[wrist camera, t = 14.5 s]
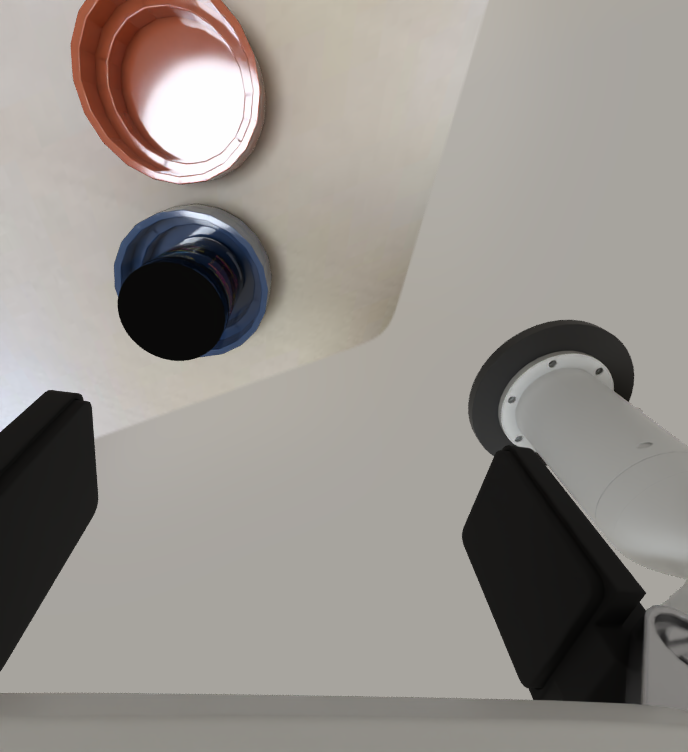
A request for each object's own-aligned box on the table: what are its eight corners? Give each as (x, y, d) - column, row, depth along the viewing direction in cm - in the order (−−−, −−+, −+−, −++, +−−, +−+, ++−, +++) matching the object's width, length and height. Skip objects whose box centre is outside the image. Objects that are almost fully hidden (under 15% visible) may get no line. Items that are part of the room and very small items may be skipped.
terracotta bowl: (274, 20, 30) (269, -4, 25) (257, 193, 35) (250, 198, 30) (101, -26, 28) (62, -62, 24) (108, 163, 33) (78, 164, 28)
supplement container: (147, 260, 36) (93, 295, 27) (213, 219, 35) (181, 240, 26) (197, 325, 39) (164, 377, 30) (260, 289, 38) (246, 331, 29)
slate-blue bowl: (279, 218, 36) (275, 227, 31) (264, 342, 41) (259, 365, 36) (136, 190, 34) (111, 195, 30) (138, 324, 39) (116, 345, 34)
